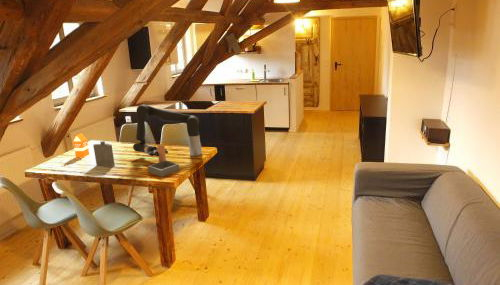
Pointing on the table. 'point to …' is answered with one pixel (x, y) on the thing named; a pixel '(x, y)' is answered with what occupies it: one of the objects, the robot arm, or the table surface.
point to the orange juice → (80, 146)
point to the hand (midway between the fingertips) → (163, 153)
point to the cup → (161, 153)
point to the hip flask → (104, 154)
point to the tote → (163, 168)
